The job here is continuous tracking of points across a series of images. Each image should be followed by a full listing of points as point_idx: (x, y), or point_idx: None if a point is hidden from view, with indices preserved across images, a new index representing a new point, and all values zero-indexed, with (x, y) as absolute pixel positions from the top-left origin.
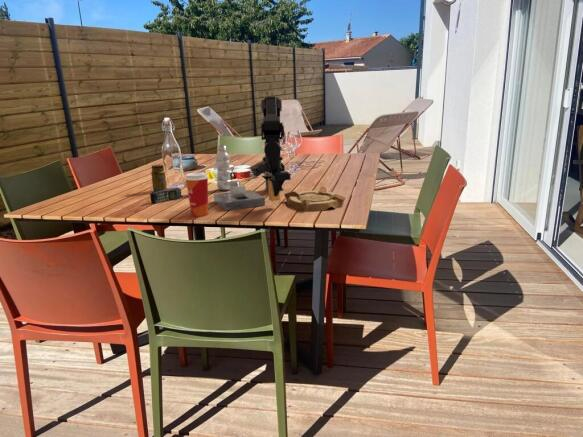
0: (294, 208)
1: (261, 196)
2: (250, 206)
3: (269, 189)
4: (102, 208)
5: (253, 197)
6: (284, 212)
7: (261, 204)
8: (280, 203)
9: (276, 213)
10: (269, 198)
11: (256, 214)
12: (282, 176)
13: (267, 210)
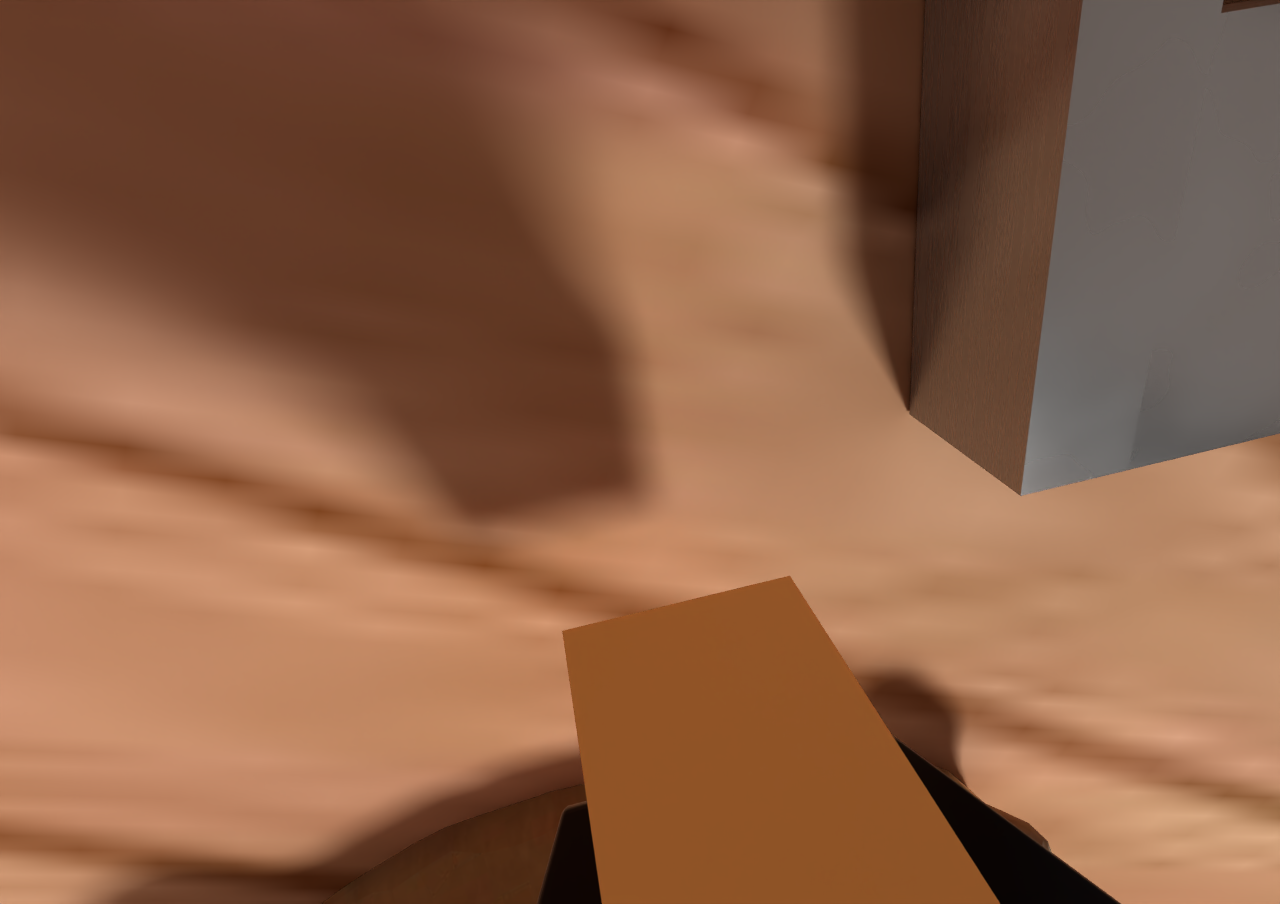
0: (417, 853)
1: (1187, 435)
2: (935, 28)
3: (854, 874)
4: None
5: (1242, 191)
6: (189, 696)
7: (926, 345)
8: (880, 678)
9: (115, 549)
10: (754, 607)
11: (38, 12)
12: None
13: (447, 398)
